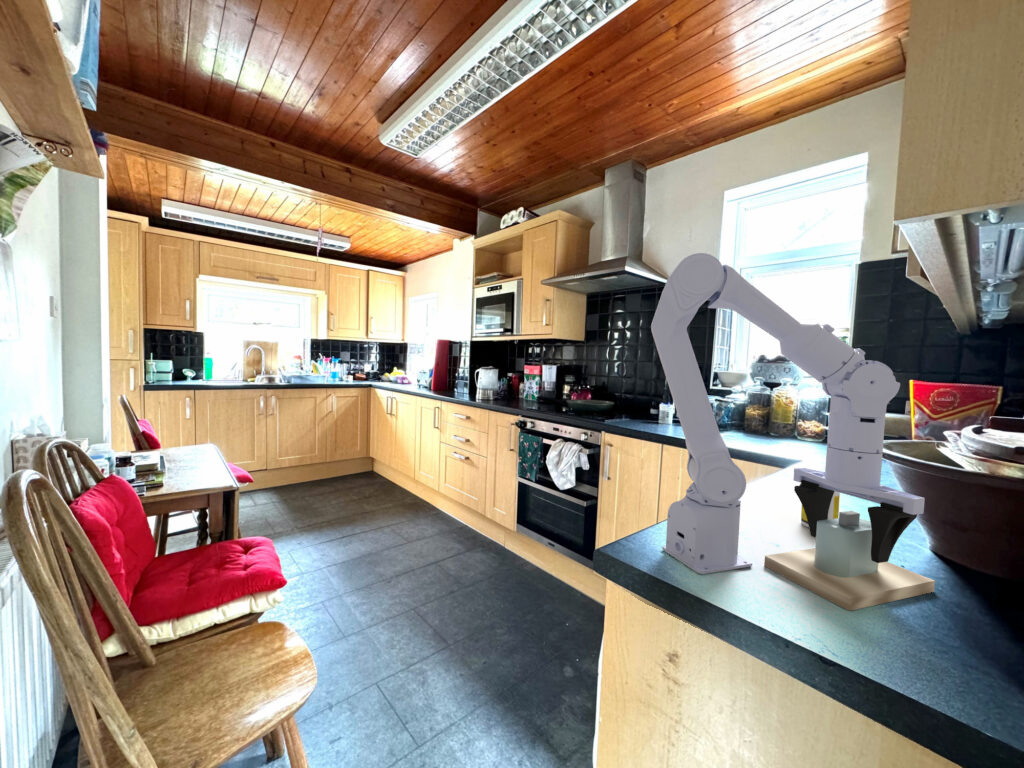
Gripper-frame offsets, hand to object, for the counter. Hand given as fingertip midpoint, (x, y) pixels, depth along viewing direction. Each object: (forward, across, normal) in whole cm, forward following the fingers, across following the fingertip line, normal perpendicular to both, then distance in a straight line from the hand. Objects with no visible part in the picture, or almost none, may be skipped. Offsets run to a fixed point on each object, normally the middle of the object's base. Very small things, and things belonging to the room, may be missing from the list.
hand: (846, 547), depth 54 cm
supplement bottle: (+4, +14, -16) cm, 22 cm away
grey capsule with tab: (+3, 0, 0) cm, 3 cm away
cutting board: (+4, 0, 0) cm, 4 cm away
